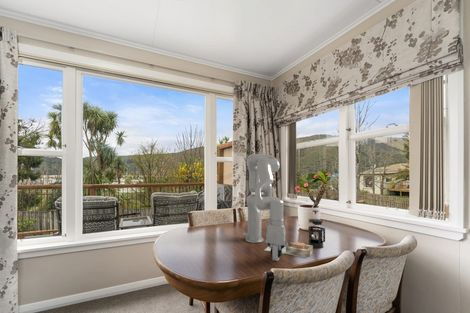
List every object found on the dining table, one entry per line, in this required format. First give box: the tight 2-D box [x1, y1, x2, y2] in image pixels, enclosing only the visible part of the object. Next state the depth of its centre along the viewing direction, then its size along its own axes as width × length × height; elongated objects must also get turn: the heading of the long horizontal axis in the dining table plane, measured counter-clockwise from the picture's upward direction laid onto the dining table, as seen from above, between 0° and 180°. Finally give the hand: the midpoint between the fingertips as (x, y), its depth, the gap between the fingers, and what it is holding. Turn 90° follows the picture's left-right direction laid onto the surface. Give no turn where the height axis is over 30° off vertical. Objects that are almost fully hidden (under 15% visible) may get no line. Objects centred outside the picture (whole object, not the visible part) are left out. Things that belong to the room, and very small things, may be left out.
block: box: [294, 241, 305, 249], centre depth 141 cm, size 5×5×5 cm
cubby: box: [286, 241, 314, 258], centre depth 141 cm, size 14×11×4 cm
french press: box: [307, 209, 326, 250], centre depth 153 cm, size 12×9×23 cm
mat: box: [264, 245, 311, 259], centre depth 143 cm, size 26×13×1 cm, turn 63°
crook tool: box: [271, 244, 280, 262], centre depth 133 cm, size 3×12×8 cm, turn 153°
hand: (276, 255), depth 129 cm, fingers closed on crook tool, 3 cm apart
